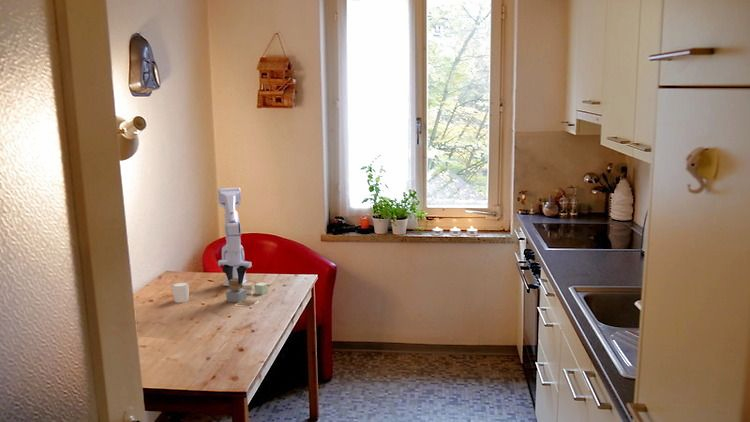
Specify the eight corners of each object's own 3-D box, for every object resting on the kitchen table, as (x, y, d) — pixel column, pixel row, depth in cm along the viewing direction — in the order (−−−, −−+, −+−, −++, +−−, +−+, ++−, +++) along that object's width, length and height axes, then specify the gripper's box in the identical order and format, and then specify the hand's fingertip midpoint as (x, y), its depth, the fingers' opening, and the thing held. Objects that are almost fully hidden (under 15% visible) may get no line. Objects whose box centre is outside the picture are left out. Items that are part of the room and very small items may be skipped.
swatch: (243, 300, 278) (243, 298, 277) (259, 301, 275) (259, 300, 275) (235, 305, 271) (235, 304, 271) (251, 307, 269) (251, 305, 269)
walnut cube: (234, 286, 280) (233, 277, 280) (242, 287, 279) (242, 278, 278) (229, 289, 277) (228, 280, 276) (237, 290, 275) (237, 281, 275)
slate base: (234, 297, 283) (234, 288, 282) (246, 298, 281) (246, 289, 280) (226, 301, 277) (226, 292, 277) (238, 302, 275) (238, 293, 274)
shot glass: (179, 304, 274) (178, 287, 273) (169, 301, 278) (168, 285, 277) (193, 299, 279) (192, 283, 278) (183, 297, 283) (182, 281, 282)
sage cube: (260, 291, 290) (260, 282, 289) (268, 292, 288) (267, 283, 288) (254, 293, 287) (254, 284, 286) (262, 294, 285) (262, 285, 284)
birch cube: (244, 291, 290) (243, 282, 290) (253, 291, 290) (253, 282, 289) (242, 294, 286) (241, 285, 286) (251, 294, 286) (251, 285, 286)
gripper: (213, 252, 273) (215, 284, 276) (245, 254, 269) (246, 286, 272) (222, 248, 280) (224, 279, 282) (253, 250, 276) (254, 282, 278)
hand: (235, 282), depth 278 cm, fingers closed on walnut cube, 4 cm apart
